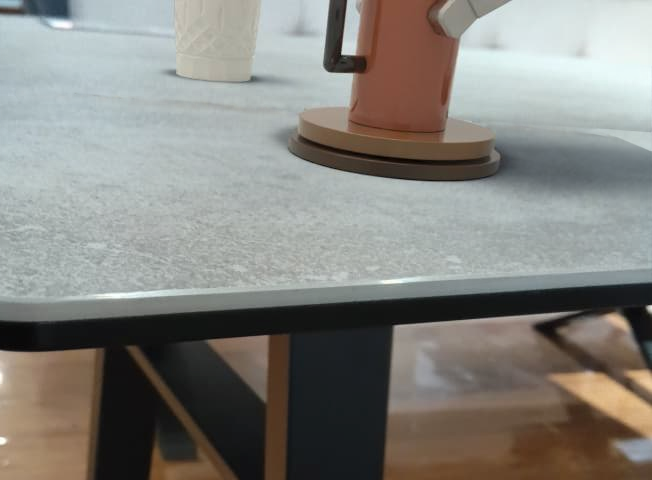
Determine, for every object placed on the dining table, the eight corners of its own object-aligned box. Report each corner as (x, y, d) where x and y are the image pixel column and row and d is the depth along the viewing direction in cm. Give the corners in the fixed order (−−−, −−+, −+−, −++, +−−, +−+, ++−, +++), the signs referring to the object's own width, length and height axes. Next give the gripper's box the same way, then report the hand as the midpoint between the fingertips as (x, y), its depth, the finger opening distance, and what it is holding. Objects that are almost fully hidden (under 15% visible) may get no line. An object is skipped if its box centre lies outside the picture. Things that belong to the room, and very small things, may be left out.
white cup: (160, 75, 83) (163, -44, 78) (239, 78, 85) (246, -37, 81) (184, 87, 76) (189, -42, 72) (269, 90, 79) (278, -34, 74)
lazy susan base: (462, 143, 62) (464, 131, 61) (529, 186, 50) (532, 172, 50) (277, 130, 60) (278, 118, 60) (302, 172, 48) (303, 158, 48)
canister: (420, 122, 62) (452, -92, 56) (534, 159, 52) (588, -95, 46) (265, 121, 57) (283, -113, 51) (360, 162, 47) (396, -121, 42)
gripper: (431, -186, 58) (286, -32, 58) (694, -226, 42) (493, -13, 41) (472, -100, 61) (336, 44, 61) (727, -107, 45) (543, 88, 45)
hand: (401, 22), depth 51 cm, fingers closed on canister, 6 cm apart
